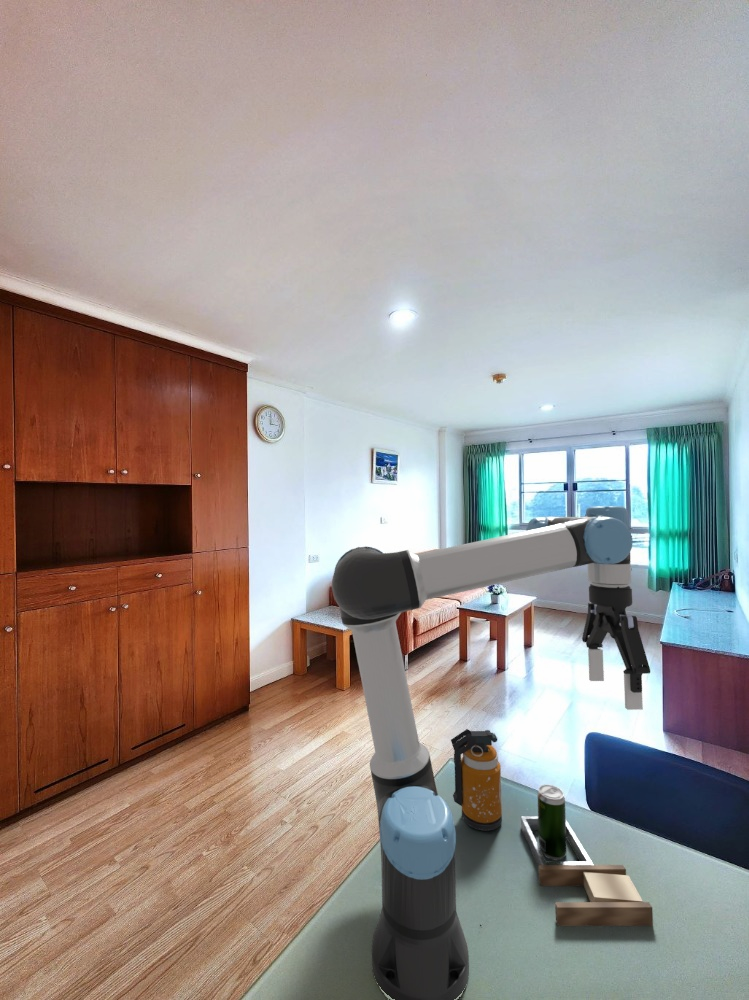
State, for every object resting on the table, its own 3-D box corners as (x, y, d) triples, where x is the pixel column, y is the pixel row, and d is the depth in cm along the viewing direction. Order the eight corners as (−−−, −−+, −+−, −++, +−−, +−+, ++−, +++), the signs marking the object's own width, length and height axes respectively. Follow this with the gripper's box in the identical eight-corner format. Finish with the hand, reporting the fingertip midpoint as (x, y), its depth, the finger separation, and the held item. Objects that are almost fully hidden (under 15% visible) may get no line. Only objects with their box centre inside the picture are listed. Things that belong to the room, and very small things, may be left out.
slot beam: (558, 925, 74) (557, 907, 74) (538, 881, 83) (538, 865, 83) (652, 925, 74) (652, 907, 74) (623, 881, 83) (622, 864, 83)
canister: (507, 833, 95) (504, 740, 96) (456, 834, 96) (454, 741, 96) (496, 806, 104) (493, 721, 105) (450, 806, 105) (448, 722, 105)
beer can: (553, 864, 87) (551, 802, 87) (532, 846, 92) (531, 788, 92) (572, 855, 89) (570, 795, 90) (551, 838, 94) (550, 781, 94)
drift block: (594, 914, 76) (594, 897, 76) (583, 888, 82) (583, 871, 82) (643, 919, 75) (643, 901, 75) (629, 892, 81) (628, 875, 81)
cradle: (594, 878, 83) (593, 864, 83) (543, 878, 84) (543, 864, 84) (564, 827, 97) (564, 816, 97) (521, 827, 97) (520, 816, 97)
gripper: (670, 595, 73) (676, 723, 72) (597, 575, 98) (600, 670, 97) (626, 595, 73) (630, 723, 73) (564, 575, 98) (567, 671, 98)
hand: (613, 693), depth 85 cm, fingers open, 13 cm apart
